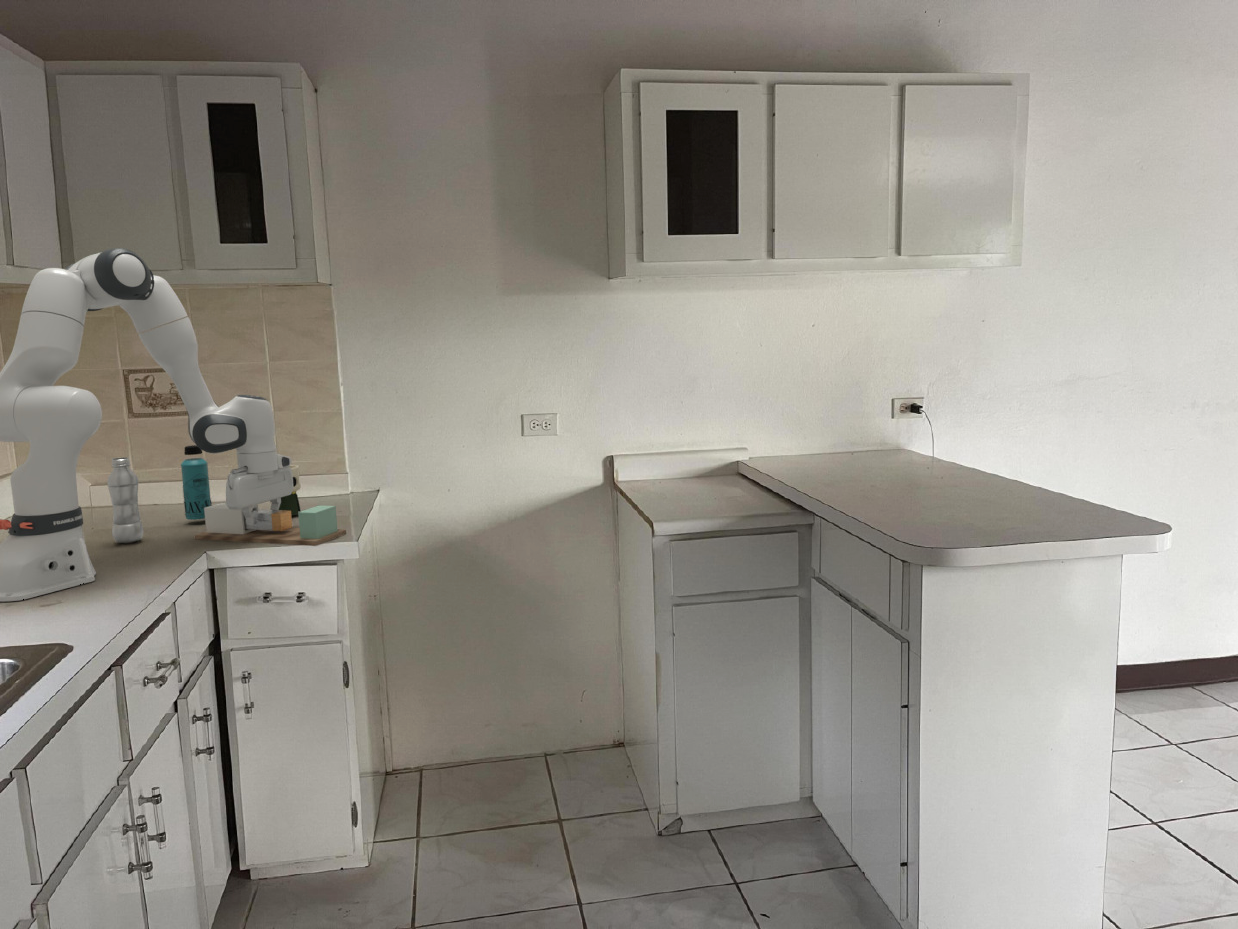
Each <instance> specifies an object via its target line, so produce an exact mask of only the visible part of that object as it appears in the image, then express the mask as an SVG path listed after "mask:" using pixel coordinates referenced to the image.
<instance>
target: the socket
mask: <svg viewBox="0 0 1238 929" xmlns="http://www.w3.org/2000/svg"><path fill="white" fill-rule="evenodd" d="M336 509H337V506H335V505H316V506H314V507H310V508H307V509H305V510H301V512H299V511H298V514H297V516H298V524H299V526H298V527H300V538H305V539H319V538H321V537H324V536H327V535H329V534H332V533H334V532H337V529H338V520H337V510H336Z"/></svg>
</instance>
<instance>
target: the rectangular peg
mask: <svg viewBox="0 0 1238 929" xmlns="http://www.w3.org/2000/svg"><path fill="white" fill-rule="evenodd" d="M251 512H252V514H253V516H254V517H256V521H257V523H256V524H254V525H247V524H246V518H245V516H244V515H243V516H244V527H245V529H252V530H273V531H283V530H286V529H289V528H291V527H293V519H292V515H291V511H286V510H270V509H259V508H258V509H253V510H252V511H251Z"/></svg>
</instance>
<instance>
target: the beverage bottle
mask: <svg viewBox="0 0 1238 929" xmlns="http://www.w3.org/2000/svg"><path fill="white" fill-rule="evenodd" d="M183 452H184V455H185V456H193V455H195V456H197V455H201V454H203V450H201V449H200V448H199V447H198V446H197V445H196V444H195V445H194V444H193V445H186V446H185V447H184V451H183ZM208 464H209V463H208V461H207V460H205V459H204V458H203V457H195V458H193V457H191V458H186V459H184V460H183V461H182V462H181V463H180V466H181V467H180V468H181V480H182V494H183V495H182V496H183V504H184V505H183V506H184V516H185V519H186V520H190V521H191V520H194V521H195V520H205V512H204V508H205V507H209V506H212V498H211V489H210V487H211V486H210V481H211V480H210V478H209V468H208Z"/></svg>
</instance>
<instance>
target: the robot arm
mask: <svg viewBox="0 0 1238 929" xmlns="http://www.w3.org/2000/svg"><path fill="white" fill-rule="evenodd" d="M116 306H117V307H120V308H121V309H122V310H124V311H125V312H126V314H128V316H129V317H130V319H131V321H132V324H133V326H134V328H135V331H136V333H137V334H138V337H139V339H140V340H141V343H142V345H143V346H144V348H145V349H146V350H147V352H148V353H149V355H150V356H151V358H152V359H153V360H154V362H155V363H156V364H157V365H158V366H160V368H162V369H163V371H164V372H165V373H166V374H167V375H168V377H169V378H170V379H171V380H172V382H173V384H174V386H175V388H176V390H177V393H178V394H179V396H180V399H181V401H182V403H183V405H184V408H185V409H186V412H187V413H186V414H187V416H188V418H187V420H188V422H187V423H188V424H187V425H188V426H187V429H188V435H189V438H190V440H192V443H194V444H195V445H197V446H198V447H199V448H200V449H201V450H202V452H205V453H208V454H213V455H214V454H216V455H217V454H221V453H222V454H223V453H225V452H227V451H228V452H229V451H232V450H236V458H237V468H232V469H231V470H230V472H229V474H228V475H227V480H226V483H225V484H226V485H225V503H226V505H227V507H228V508H229V509H234V510H240V509H241V511H242V513H243V515H244V516H245V518H246V524H247V525H254V524H256V523H257V521H256V517H254V516H253V514H252V512H251V511H252V510H253V506H254V505H257V504H258V505H260V504H265V503H266V502H269V503H270V504H271V505H270V509H269V510H278V509H279V507H280V504H281V497H284V496H287V495H291V494H292V491H293V475H292V470H291V468H290V467H289V466H291V465H293V464H292V458H291V456H288V455H283V454H279V453H278V451H277V450H278V449H277V446H276V443H275V435H276V427H275V426H276V424H275V416H274V411H273V408H272V404H271V403H270V401H269V400H268V399H267V398H265V397H263V396H258V395H252V394H237V395H235V397H234V398H232V399H231V400H229V401H228V402H226V403H224V404H223V405H221V406H218V404H217V403H216V402H215V400H214V399H213V397H212V394H211V392H210V390H209V388H208V385H207V384H206V382H205V379H204V377H203V375H202V372H201V370H200V365H199V359H198V358H199V356H198V355H199V354H198V353H199V346H198V344H199V343H198V340H197V336H196V332H195V329H194V327H193V325H192V322H191V319H190V317H189V316H188V313H187V311H186V308H185V307H184V306H183V304H182V302H181V301H180V299H179V297H178V295H177V294H176V292H175V291H174V289H173V288H172V286H171V285H170V283H169V282H168V281H167V280H166V279H165V278H163V277H162V276H159V275H154V273H153V271H152V270H151V269H150V268H149V267H148V264H146V262H145V261H144V260H143V258H141V256H140V255H138V254H137V253H136V252H134V251H132V250H130V249H127V248H121V247H118V248H117V247H116V248H108V249H105V250H103V251H102V252H97V253H95V254H90V255H87V256H85V257H83V258H81V259H80V260H78V261H77V262H75V263H72V264H70V265H69V266H67V267H66V268H61V267H60V268H59V267H46V268H44V269H41V270H39V271H38V272H36V274H35V275H34V277H33V278H32V280H31V283H30V285H29V287H28V290H27V293H26V295H25V298H24V302H23V305H22V309H21V312H20V313H21V314H20V317H19V323H18V327H17V332H16V336H15V341H14V344H13V348H12V351H11V353H10V354H9V357H8V359H7V361H6V362H5V364H4V366H3V368H2V369H1V371H0V442H4V443H29V449H28V450H29V451H28V456H27V458H26V460H25V461H24V463H22V464H20V465H19V466H18V467H16V468H15V469H14V470H13V471H12V473H11V475H10V478H9V479H10V480H9V481H10V487H11V495H12V502H13V503H12V504H13V511H14V513H13V514H12V516H11V519H10V520H9V519H1V518H0V531H1V530H2V531H3V530H5V531H6V530H8V536H6V538H5V539H4V540H3V541H2V542H1V543H0V602H17V601H23V599H24V600H28V599H32V598H35V597H38V596H43V595H47V594H49V593H54V592H57V591H62V590H65V589H66V590H67V589H68V588H73V587H76V586H80V584H81V585H84V584H89V583H91V582H92V583H93V582H94V581H95V580H96V577H95V576H96V574H97V571H96V569H95V566H94V565H93V563H92V561H91V557H90V554H89V551H88V547H87V545H86V540H85V535H84V532H83V525H84V519H83V518H84V516H83V512H82V511H83V510H82V506H80V505H79V496H78V484H77V483H78V482H77V468H78V460H79V457H80V454H81V452H82V449H83V447H84V446H85V444H86V442H87V441H88V440H89V439H90V438H91V437H92V436H93V435H94V434H96V433H97V431H98V429H99V428H100V426H101V424H102V423H101V422H102V420H103V410H102V406H101V403H100V401H99V400H98V398H97V396H96V395H95V394H94V393H93V392H92V391H90V390H87V389H84V388H83V389H82V388H79V387H74V386H68V385H55V384H56V382H57V381H58V380H59V379H60V378H61V377H62V376H63V375H64V374H66V373H68V372H70V371H71V370H72V369H73V368H75V367H76V365H77V363H78V361H79V357H80V351H81V345H82V341H83V336H84V330H85V323H86V315H87V312H97V311H101V310H103V309H106V308H107V309H108V308H110V307H116ZM83 583H84V584H83Z"/></svg>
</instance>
